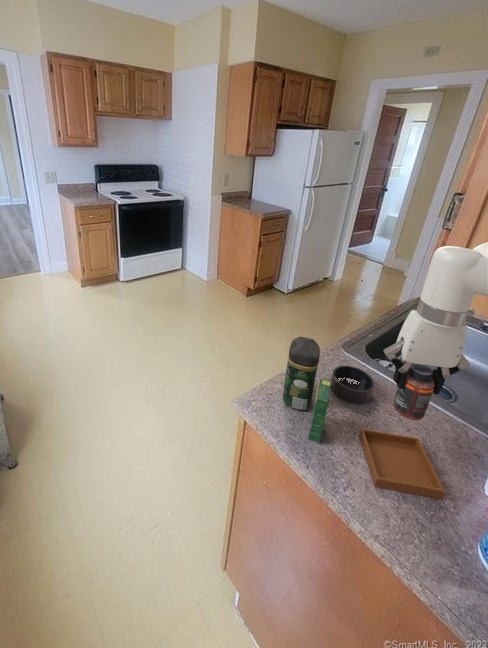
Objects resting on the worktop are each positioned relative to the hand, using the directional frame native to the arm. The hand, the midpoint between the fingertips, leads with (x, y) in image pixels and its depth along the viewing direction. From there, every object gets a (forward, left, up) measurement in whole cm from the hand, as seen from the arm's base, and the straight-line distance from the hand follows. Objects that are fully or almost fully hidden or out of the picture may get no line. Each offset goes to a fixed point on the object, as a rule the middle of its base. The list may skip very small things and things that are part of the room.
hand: (415, 386), depth 67 cm
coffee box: (+17, -4, -21) cm, 27 cm away
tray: (0, +2, -21) cm, 21 cm away
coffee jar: (+21, -14, -21) cm, 33 cm away
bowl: (+5, -21, -21) cm, 30 cm away
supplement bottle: (0, 0, -7) cm, 7 cm away
